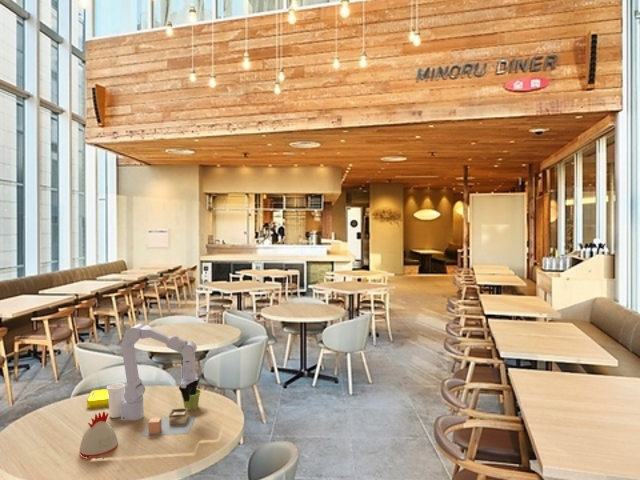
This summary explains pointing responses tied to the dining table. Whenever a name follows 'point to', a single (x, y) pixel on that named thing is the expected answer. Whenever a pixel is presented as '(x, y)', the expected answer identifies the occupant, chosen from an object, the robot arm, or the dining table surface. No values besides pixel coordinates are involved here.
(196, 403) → the plant pot
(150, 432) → the terracotta block
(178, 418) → the birch socket block
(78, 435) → the dining table surface
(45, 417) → the dining table surface
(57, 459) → the dining table surface
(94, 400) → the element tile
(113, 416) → the cup
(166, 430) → the grey board
